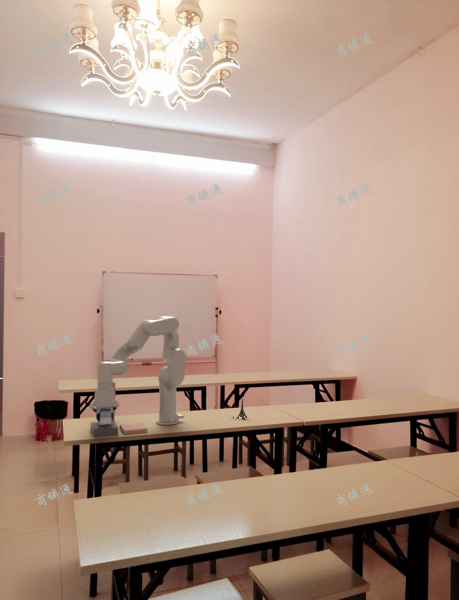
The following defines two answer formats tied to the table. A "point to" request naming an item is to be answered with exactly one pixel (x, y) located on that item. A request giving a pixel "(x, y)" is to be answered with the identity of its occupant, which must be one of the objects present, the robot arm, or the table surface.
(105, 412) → the housing
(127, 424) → the terracotta stand
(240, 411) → the eiffel tower figurine
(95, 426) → the charcoal stand
